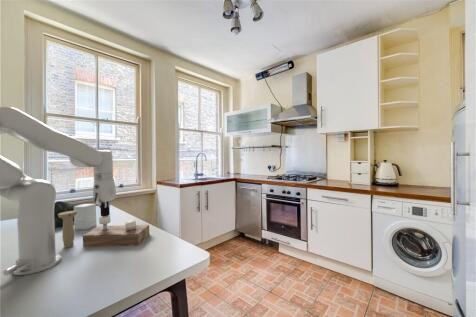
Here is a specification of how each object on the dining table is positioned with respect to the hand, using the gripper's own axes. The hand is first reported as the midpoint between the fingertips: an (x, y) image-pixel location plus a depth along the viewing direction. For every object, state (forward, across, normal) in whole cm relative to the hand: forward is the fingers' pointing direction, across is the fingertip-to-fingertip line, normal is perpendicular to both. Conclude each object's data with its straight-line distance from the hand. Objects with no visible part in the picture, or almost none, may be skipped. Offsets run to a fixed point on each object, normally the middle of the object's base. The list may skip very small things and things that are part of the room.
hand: (105, 215), depth 95 cm
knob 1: (+8, 0, 0) cm, 8 cm away
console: (+12, 0, -6) cm, 13 cm away
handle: (+12, -5, +13) cm, 19 cm away
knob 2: (+11, 0, -12) cm, 16 cm away
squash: (+12, +25, +41) cm, 50 cm away
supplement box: (+12, +19, +23) cm, 32 cm away
